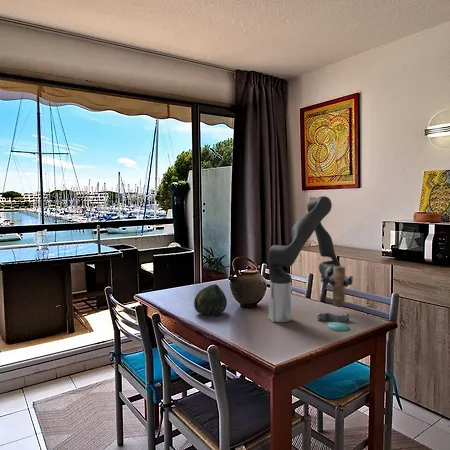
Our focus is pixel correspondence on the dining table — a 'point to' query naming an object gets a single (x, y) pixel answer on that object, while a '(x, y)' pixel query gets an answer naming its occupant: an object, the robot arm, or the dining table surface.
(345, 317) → the zigzag rail
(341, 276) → the walnut peg
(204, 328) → the dining table surface
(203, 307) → the squash
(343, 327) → the teal pad
